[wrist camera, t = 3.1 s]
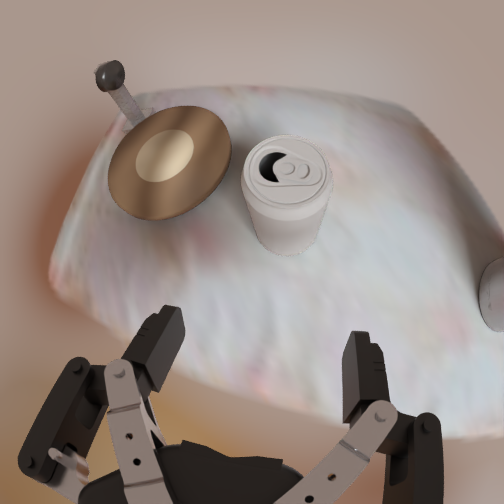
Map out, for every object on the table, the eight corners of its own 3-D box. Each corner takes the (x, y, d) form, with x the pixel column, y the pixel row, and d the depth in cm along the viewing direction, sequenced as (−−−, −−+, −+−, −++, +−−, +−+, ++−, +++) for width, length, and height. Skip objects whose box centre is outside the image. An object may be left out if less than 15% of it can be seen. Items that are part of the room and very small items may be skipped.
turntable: (241, 109, 31) (240, 103, 30) (216, 226, 28) (213, 221, 27) (135, 116, 34) (132, 111, 33) (98, 216, 30) (92, 213, 29)
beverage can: (265, 194, 30) (252, 123, 18) (323, 208, 28) (342, 140, 17) (248, 249, 28) (223, 199, 17) (309, 265, 27) (326, 224, 16)
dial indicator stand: (155, 111, 35) (118, 50, 23) (144, 136, 34) (100, 74, 22) (134, 114, 36) (95, 58, 23) (123, 138, 35) (77, 82, 22)
